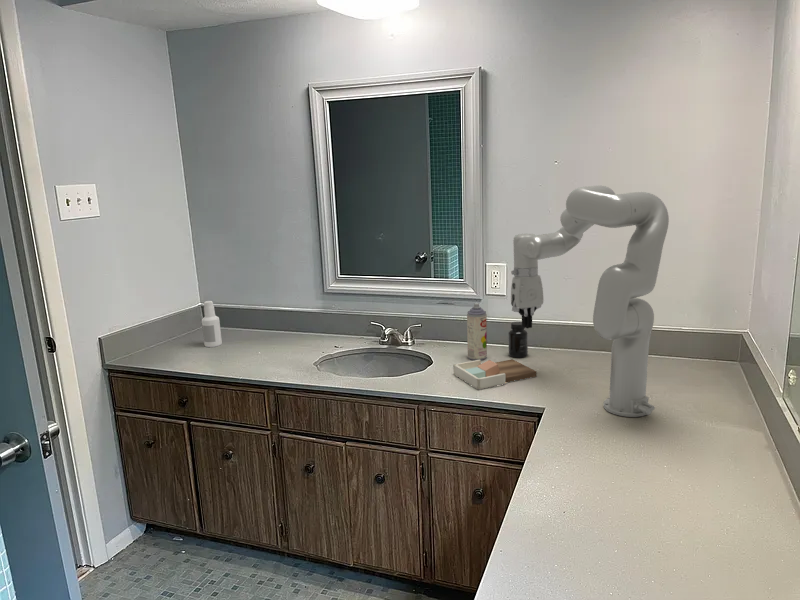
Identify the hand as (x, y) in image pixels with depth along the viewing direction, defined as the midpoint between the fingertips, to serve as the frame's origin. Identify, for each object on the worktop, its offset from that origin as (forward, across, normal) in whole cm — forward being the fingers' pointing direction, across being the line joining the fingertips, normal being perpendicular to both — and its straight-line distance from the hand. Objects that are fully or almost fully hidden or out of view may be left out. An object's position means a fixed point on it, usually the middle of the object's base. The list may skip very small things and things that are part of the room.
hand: (527, 327), depth 202 cm
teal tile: (+15, -20, +1) cm, 25 cm away
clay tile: (+14, -14, +2) cm, 20 cm away
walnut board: (+15, -7, +2) cm, 17 cm away
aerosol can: (+14, -8, +20) cm, 26 cm away
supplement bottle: (+15, +6, +15) cm, 22 cm away
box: (+15, -18, +2) cm, 24 cm away
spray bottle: (+11, -91, +88) cm, 127 cm away
